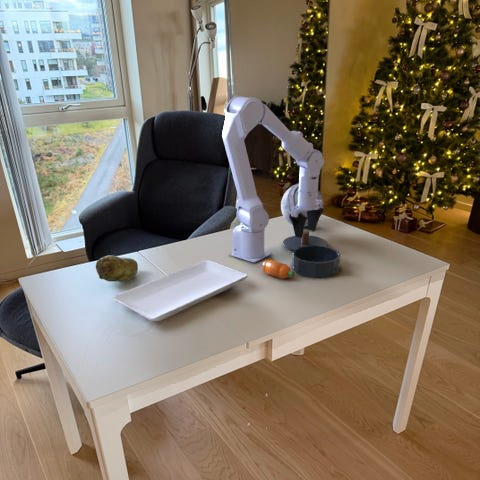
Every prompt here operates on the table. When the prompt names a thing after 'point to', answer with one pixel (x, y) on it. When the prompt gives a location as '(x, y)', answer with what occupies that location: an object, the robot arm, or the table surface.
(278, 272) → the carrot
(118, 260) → the potato
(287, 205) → the decorative orb
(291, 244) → the lid
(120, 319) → the table surface
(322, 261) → the pan
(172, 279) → the tray
